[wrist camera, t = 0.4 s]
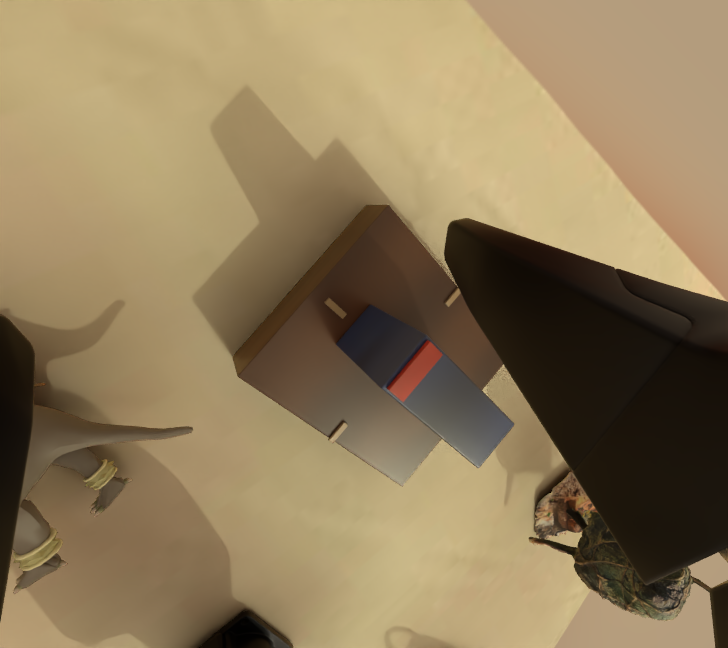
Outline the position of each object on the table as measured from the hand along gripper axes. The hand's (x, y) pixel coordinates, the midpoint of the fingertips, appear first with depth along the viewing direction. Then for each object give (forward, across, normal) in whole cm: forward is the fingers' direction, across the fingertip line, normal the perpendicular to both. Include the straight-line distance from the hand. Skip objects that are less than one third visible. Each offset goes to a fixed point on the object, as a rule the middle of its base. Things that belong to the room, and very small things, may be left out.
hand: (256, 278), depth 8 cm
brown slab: (+10, -6, +15) cm, 19 cm away
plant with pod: (+2, -23, +36) cm, 43 cm away
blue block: (+7, -7, +13) cm, 16 cm away
